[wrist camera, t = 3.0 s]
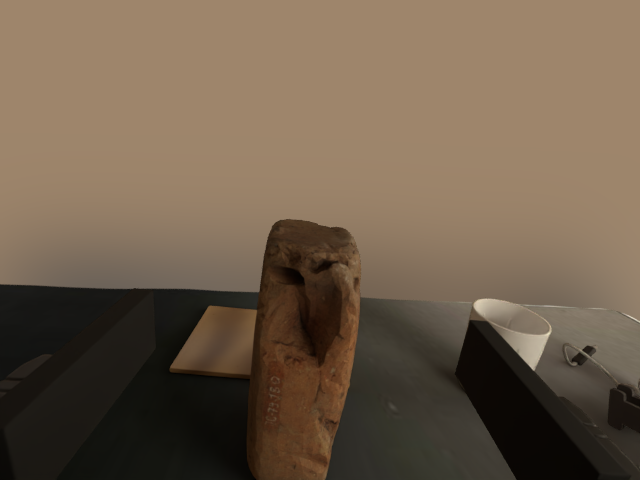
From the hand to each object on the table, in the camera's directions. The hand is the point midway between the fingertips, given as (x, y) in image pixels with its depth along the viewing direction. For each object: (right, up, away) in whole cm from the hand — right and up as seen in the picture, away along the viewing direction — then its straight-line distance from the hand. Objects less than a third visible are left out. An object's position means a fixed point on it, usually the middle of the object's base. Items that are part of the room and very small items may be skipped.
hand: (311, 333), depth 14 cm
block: (-2, -15, +16) cm, 22 cm away
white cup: (+21, -14, +26) cm, 36 cm away
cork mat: (-6, -10, +30) cm, 32 cm away
